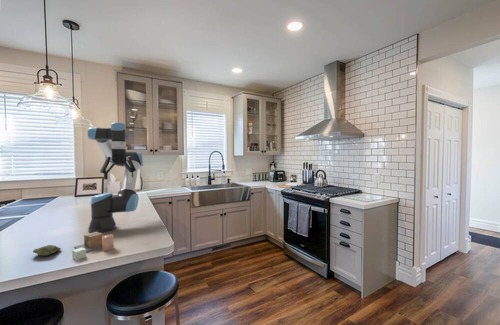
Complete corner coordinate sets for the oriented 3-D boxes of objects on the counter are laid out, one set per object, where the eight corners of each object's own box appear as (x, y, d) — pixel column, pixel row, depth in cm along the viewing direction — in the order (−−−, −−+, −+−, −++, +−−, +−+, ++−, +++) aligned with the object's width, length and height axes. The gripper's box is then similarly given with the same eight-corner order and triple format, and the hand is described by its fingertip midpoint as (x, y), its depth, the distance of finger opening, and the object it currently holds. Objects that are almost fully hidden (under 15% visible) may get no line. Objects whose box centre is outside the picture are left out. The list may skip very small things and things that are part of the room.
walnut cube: (84, 246, 118) (84, 235, 118) (96, 242, 123) (96, 231, 123) (90, 248, 115) (89, 237, 115) (102, 244, 120) (102, 233, 120)
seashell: (54, 244, 117) (60, 234, 113) (60, 256, 115) (66, 247, 111) (28, 253, 108) (34, 243, 104) (34, 266, 106) (40, 256, 102)
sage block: (72, 258, 105) (72, 250, 105) (82, 255, 109) (81, 247, 109) (76, 260, 103) (76, 252, 103) (86, 257, 107) (86, 249, 107)
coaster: (74, 248, 117) (74, 246, 117) (98, 240, 127) (98, 239, 127) (85, 253, 111) (85, 251, 111) (110, 244, 122) (110, 243, 122)
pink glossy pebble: (100, 250, 115) (100, 236, 114) (110, 246, 119) (110, 233, 119) (105, 252, 112) (105, 238, 112) (115, 248, 116) (115, 235, 116)
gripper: (99, 147, 122) (100, 186, 123) (141, 149, 144) (142, 182, 144) (92, 148, 126) (93, 185, 126) (134, 149, 147) (134, 181, 148)
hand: (119, 183), depth 135 cm, fingers open, 13 cm apart
